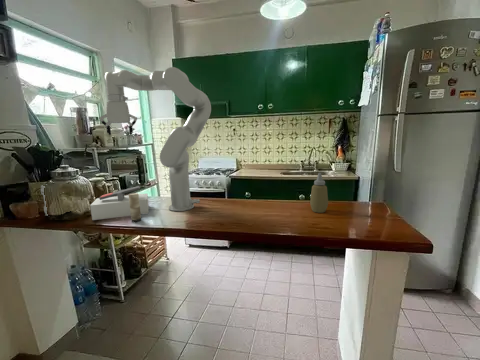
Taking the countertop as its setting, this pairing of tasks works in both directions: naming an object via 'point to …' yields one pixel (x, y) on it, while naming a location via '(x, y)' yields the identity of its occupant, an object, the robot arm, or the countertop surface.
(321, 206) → the squeeze bottle
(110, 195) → the rocker
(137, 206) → the dowel
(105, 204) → the switch base
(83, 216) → the countertop surface
